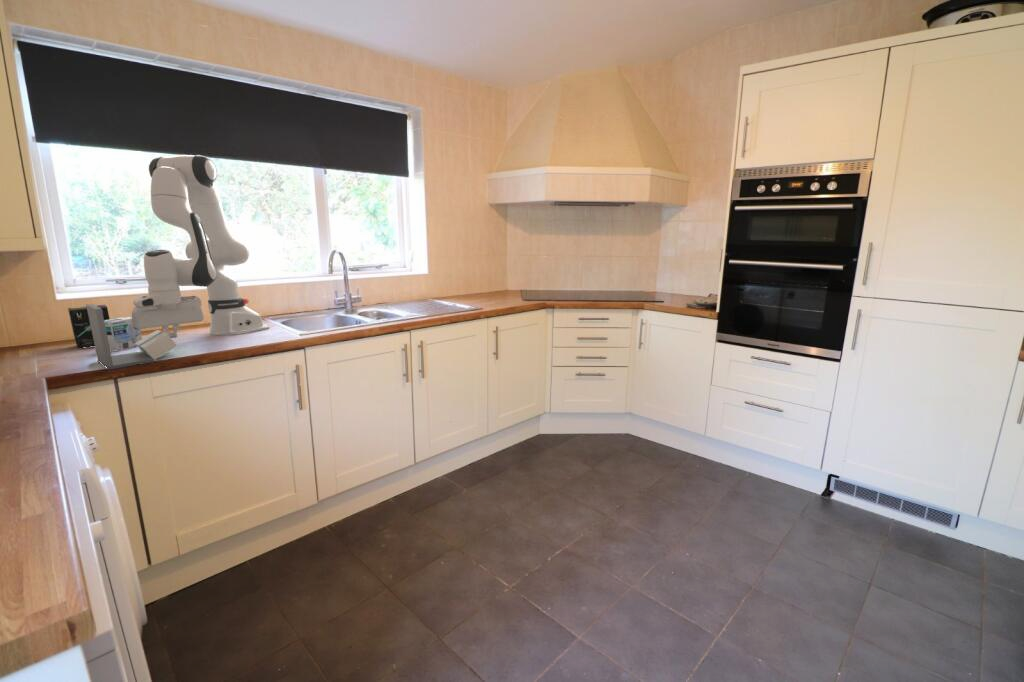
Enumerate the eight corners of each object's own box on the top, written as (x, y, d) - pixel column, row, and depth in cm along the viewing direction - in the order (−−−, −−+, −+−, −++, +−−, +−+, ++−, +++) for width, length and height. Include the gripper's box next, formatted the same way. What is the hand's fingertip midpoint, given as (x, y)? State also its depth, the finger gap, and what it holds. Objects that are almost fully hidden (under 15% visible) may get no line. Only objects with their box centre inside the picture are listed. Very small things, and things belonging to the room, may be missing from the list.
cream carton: (167, 340, 172) (157, 329, 169) (177, 345, 164) (167, 333, 161) (145, 354, 167) (134, 343, 164) (154, 360, 159) (143, 348, 157)
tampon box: (112, 340, 190) (105, 304, 187) (115, 344, 184) (107, 306, 180) (75, 345, 183) (67, 307, 179) (77, 349, 176) (68, 310, 173)
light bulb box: (116, 351, 173) (110, 322, 170) (101, 350, 174) (95, 321, 172) (144, 344, 183) (139, 316, 180) (130, 344, 184) (124, 316, 182)
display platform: (142, 354, 168) (132, 300, 164) (154, 361, 158) (143, 304, 154) (98, 361, 159) (86, 304, 155) (107, 369, 149) (95, 309, 145)
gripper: (196, 294, 174) (202, 331, 177) (126, 301, 159) (134, 341, 162) (203, 295, 170) (209, 333, 173) (131, 302, 155) (139, 344, 158)
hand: (172, 337), depth 167 cm, fingers closed
